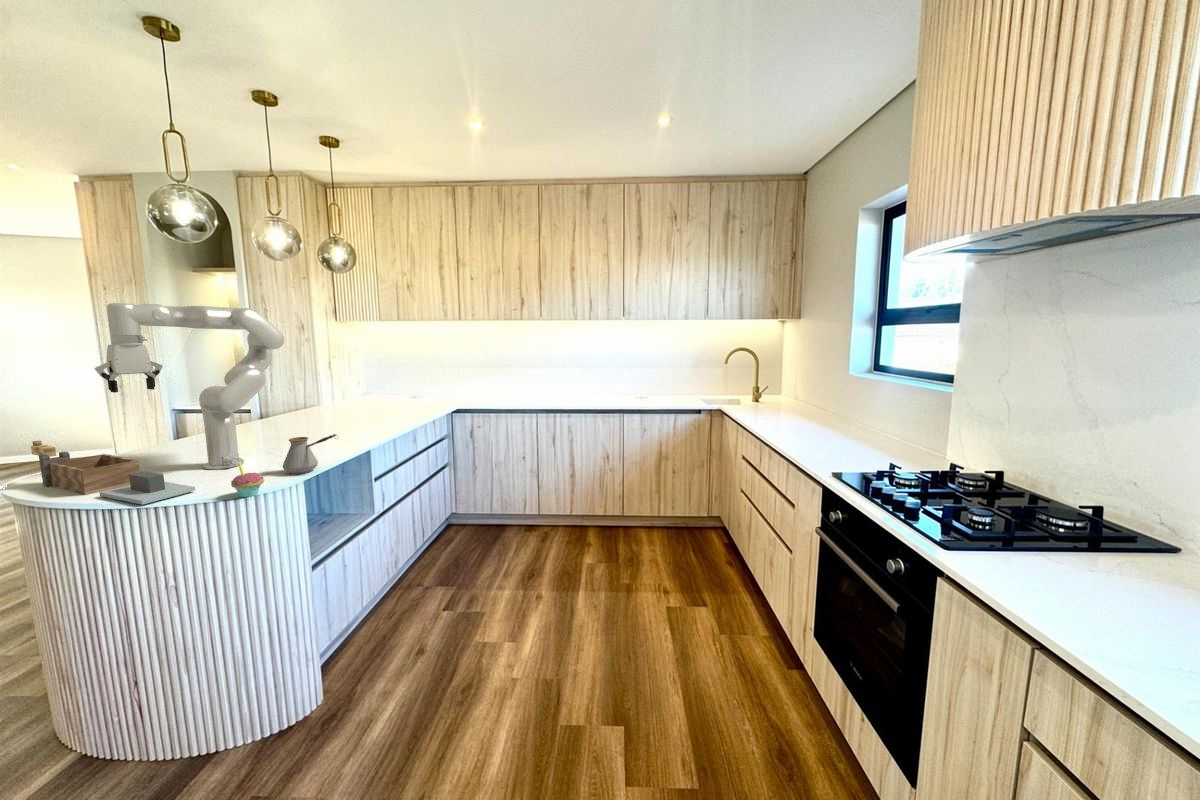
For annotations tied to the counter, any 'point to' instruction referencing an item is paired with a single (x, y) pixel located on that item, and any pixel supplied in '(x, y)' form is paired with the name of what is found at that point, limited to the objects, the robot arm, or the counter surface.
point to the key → (42, 449)
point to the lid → (147, 489)
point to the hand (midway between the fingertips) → (133, 390)
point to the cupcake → (247, 483)
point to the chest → (87, 472)
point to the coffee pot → (301, 456)
